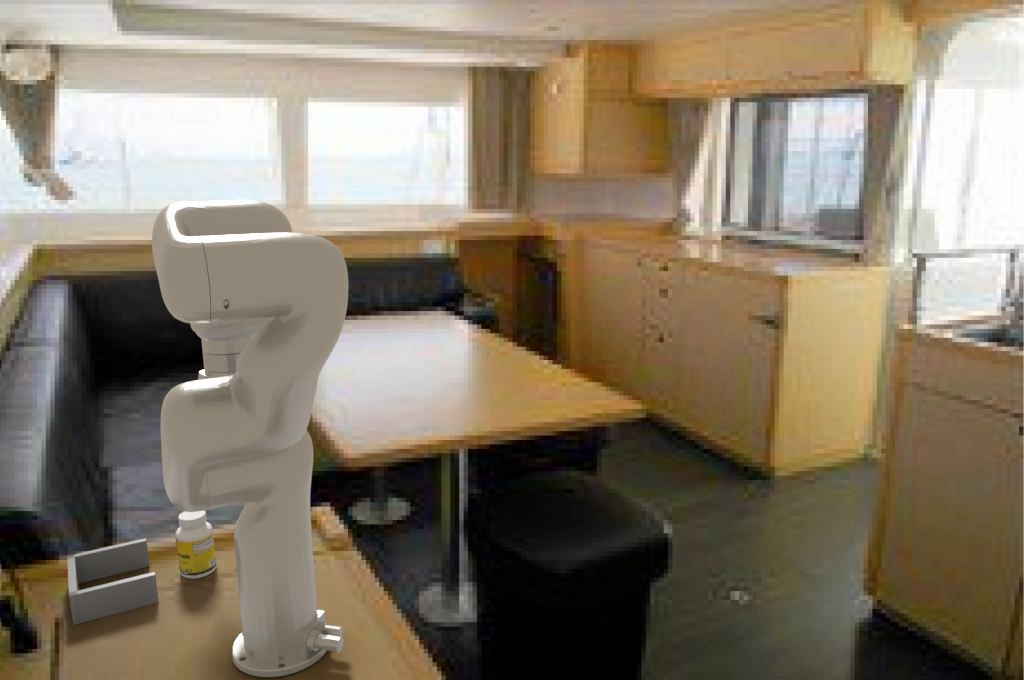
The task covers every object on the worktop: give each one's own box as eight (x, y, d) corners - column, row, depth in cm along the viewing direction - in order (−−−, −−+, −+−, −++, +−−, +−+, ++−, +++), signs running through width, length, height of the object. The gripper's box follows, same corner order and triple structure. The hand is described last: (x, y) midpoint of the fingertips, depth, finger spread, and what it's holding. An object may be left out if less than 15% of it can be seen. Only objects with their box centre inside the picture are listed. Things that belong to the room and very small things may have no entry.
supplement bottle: (175, 570, 121) (168, 513, 119) (209, 558, 125) (203, 503, 123) (187, 583, 118) (180, 525, 115) (222, 571, 121) (216, 514, 119)
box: (149, 563, 124) (145, 538, 122) (158, 602, 113) (155, 574, 112) (71, 582, 118) (67, 555, 117) (73, 625, 107) (68, 596, 106)
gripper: (280, 348, 125) (288, 452, 129) (166, 362, 116) (178, 473, 120) (292, 358, 119) (300, 467, 123) (172, 374, 110) (185, 490, 114)
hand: (239, 469), depth 122 cm, fingers open, 5 cm apart
